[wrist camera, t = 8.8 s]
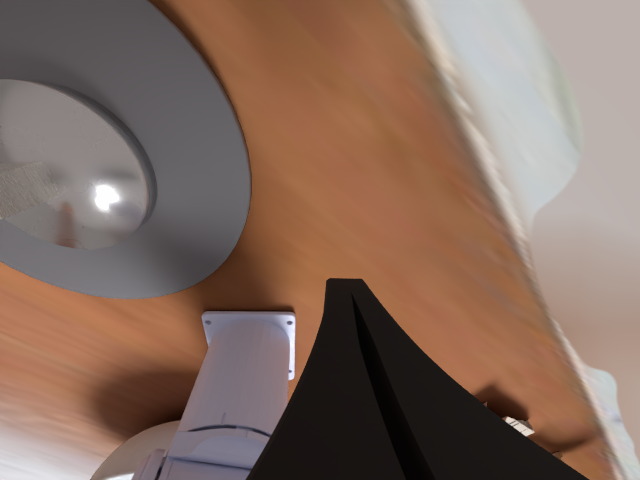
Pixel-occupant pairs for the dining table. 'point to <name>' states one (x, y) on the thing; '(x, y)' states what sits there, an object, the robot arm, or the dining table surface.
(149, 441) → the serving bowl
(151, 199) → the grey bar on dome
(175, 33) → the dial plate
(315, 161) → the dining table surface
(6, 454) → the dining table surface
